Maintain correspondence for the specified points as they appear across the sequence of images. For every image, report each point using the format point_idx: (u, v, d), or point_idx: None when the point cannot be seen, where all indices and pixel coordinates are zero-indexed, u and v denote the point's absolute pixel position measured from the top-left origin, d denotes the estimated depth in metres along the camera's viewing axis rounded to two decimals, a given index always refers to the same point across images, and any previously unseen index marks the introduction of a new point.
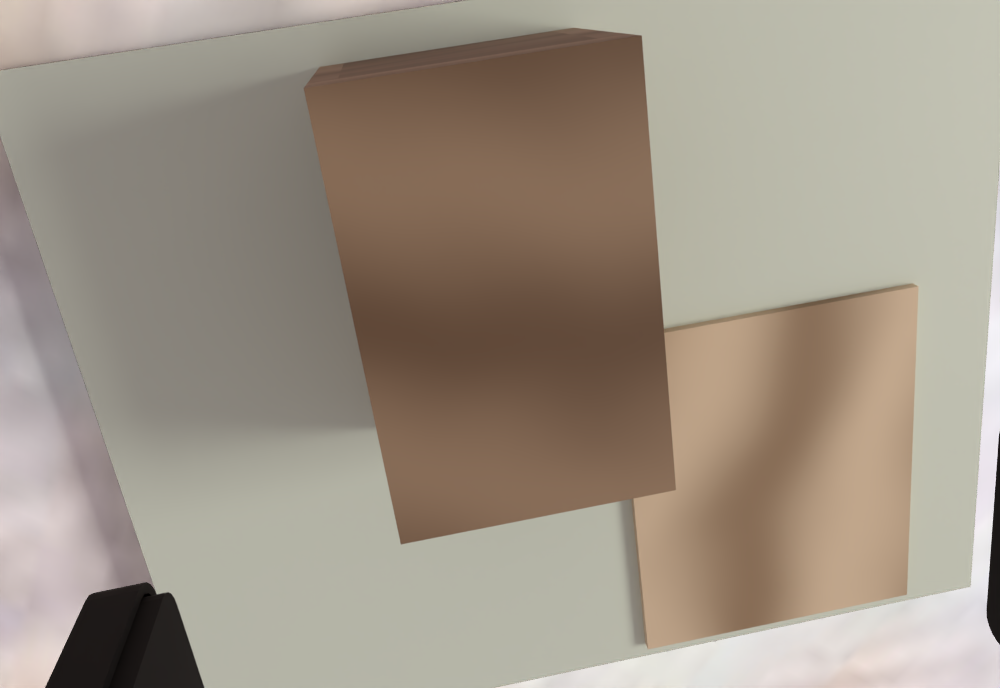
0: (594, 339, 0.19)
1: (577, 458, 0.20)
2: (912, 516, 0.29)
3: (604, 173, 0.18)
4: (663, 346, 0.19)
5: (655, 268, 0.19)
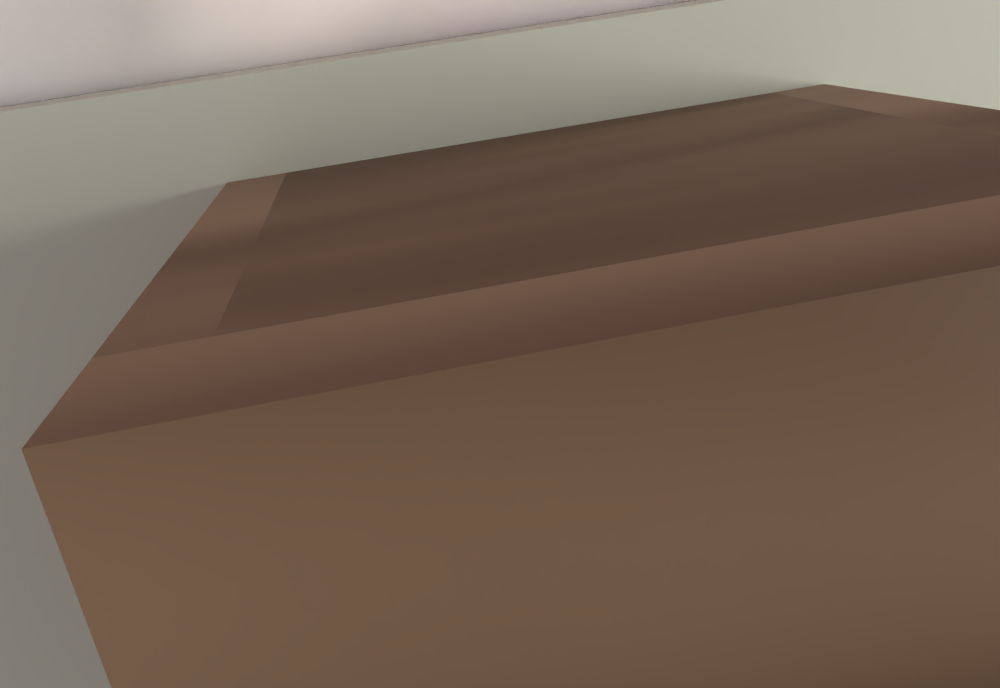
0: None
1: None
2: None
3: None
4: None
5: None
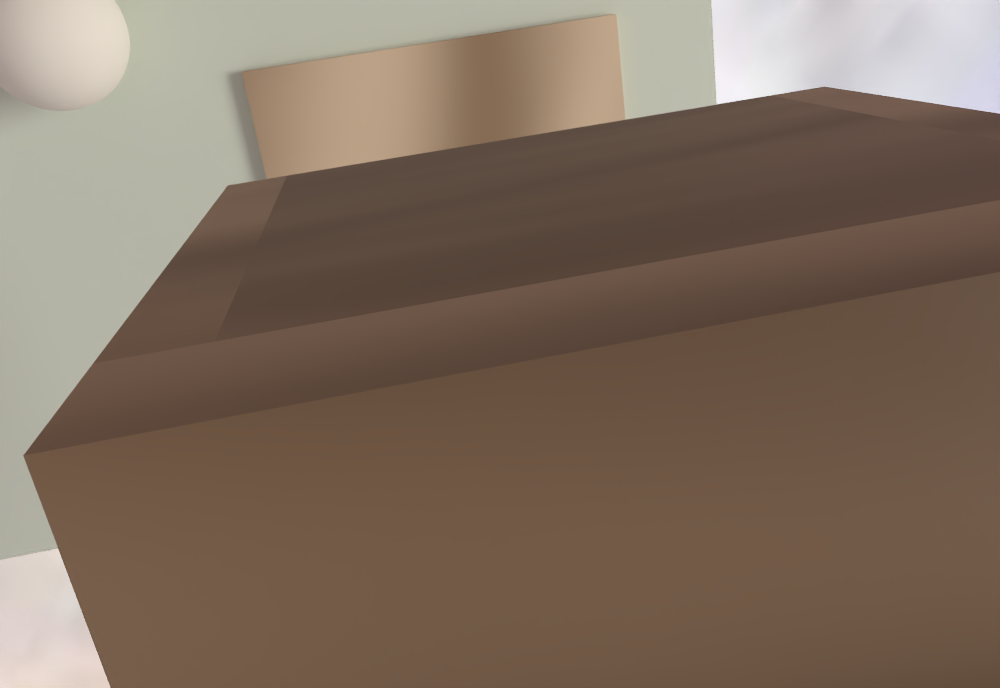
0: None
1: None
2: None
3: None
4: None
5: None
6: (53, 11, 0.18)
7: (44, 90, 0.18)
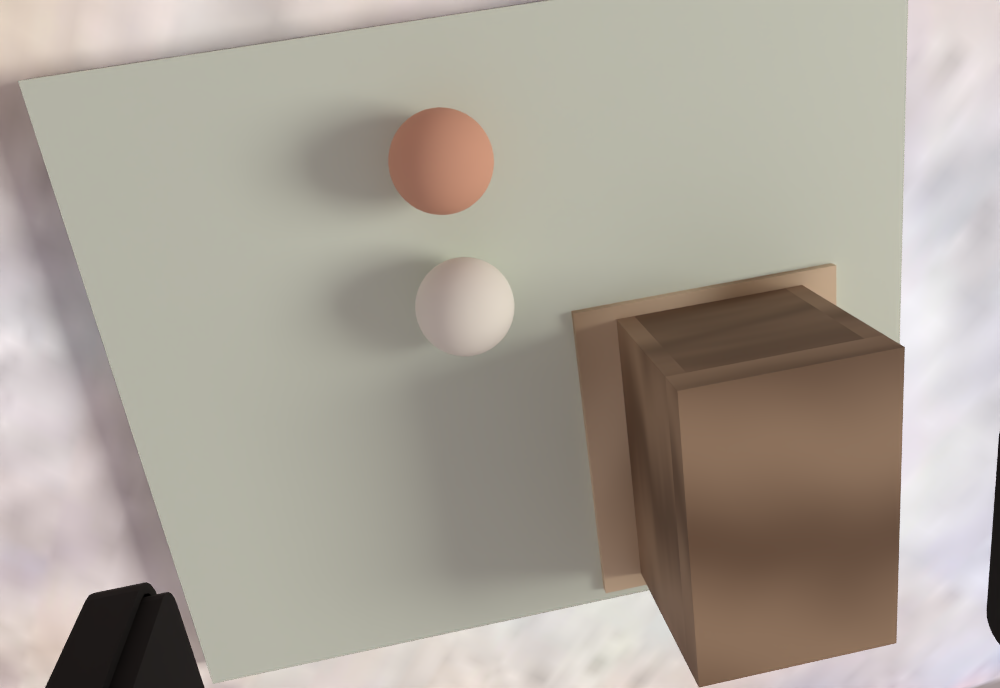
0: (850, 543, 0.26)
1: (829, 623, 0.27)
2: None
3: (869, 434, 0.25)
4: (897, 545, 0.27)
5: (897, 494, 0.26)
6: (486, 303, 0.26)
7: (469, 350, 0.26)
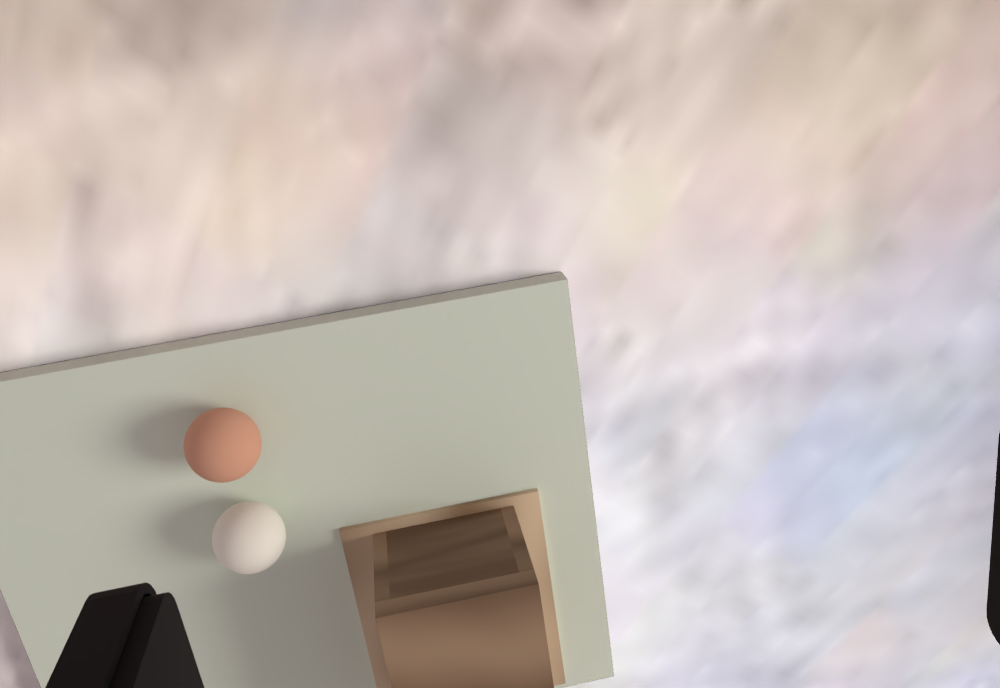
0: None
1: None
2: (563, 631, 0.44)
3: (522, 640, 0.36)
4: None
5: (550, 678, 0.36)
6: (256, 543, 0.36)
7: (248, 572, 0.37)
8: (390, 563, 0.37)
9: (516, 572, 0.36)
